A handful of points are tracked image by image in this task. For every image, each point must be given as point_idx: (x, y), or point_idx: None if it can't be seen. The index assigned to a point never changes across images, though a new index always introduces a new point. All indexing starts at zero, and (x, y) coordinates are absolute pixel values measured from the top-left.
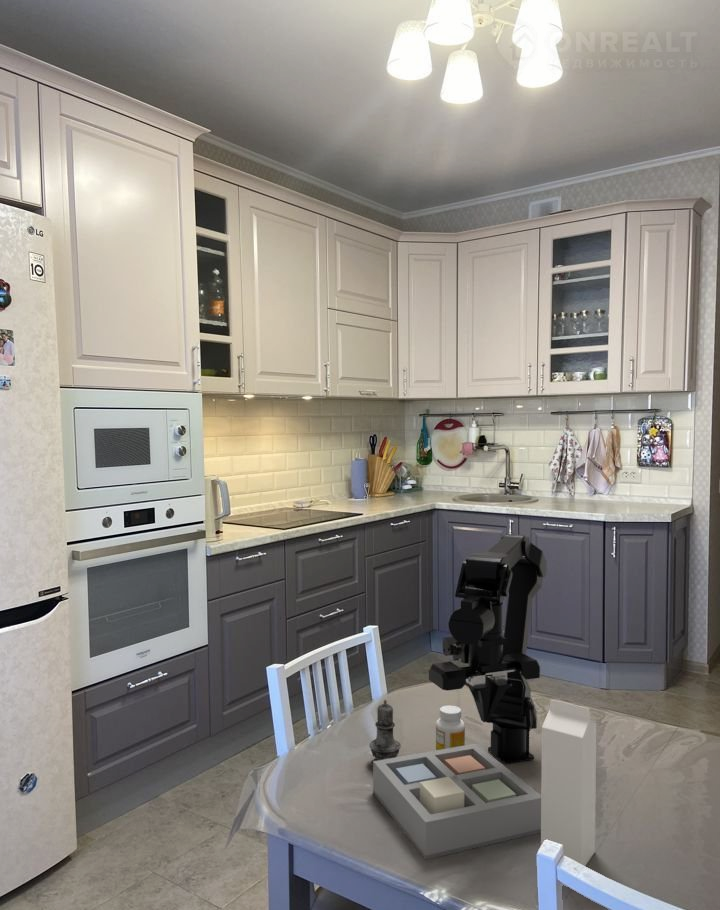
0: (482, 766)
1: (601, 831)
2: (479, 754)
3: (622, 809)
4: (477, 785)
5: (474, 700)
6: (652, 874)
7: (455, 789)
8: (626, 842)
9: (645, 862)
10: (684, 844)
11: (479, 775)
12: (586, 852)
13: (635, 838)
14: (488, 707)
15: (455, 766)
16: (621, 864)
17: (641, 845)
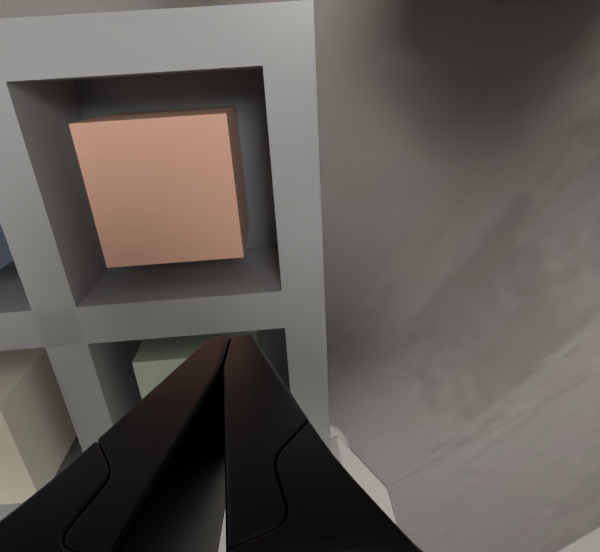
0: (237, 242)
1: (460, 435)
2: (269, 143)
3: (592, 373)
4: (152, 372)
5: (92, 445)
6: (437, 549)
7: (9, 483)
8: (477, 474)
9: (456, 525)
10: (581, 500)
11: (180, 331)
12: None
13: (508, 468)
14: (216, 548)
15: (107, 209)
16: (407, 522)
17: (497, 487)
